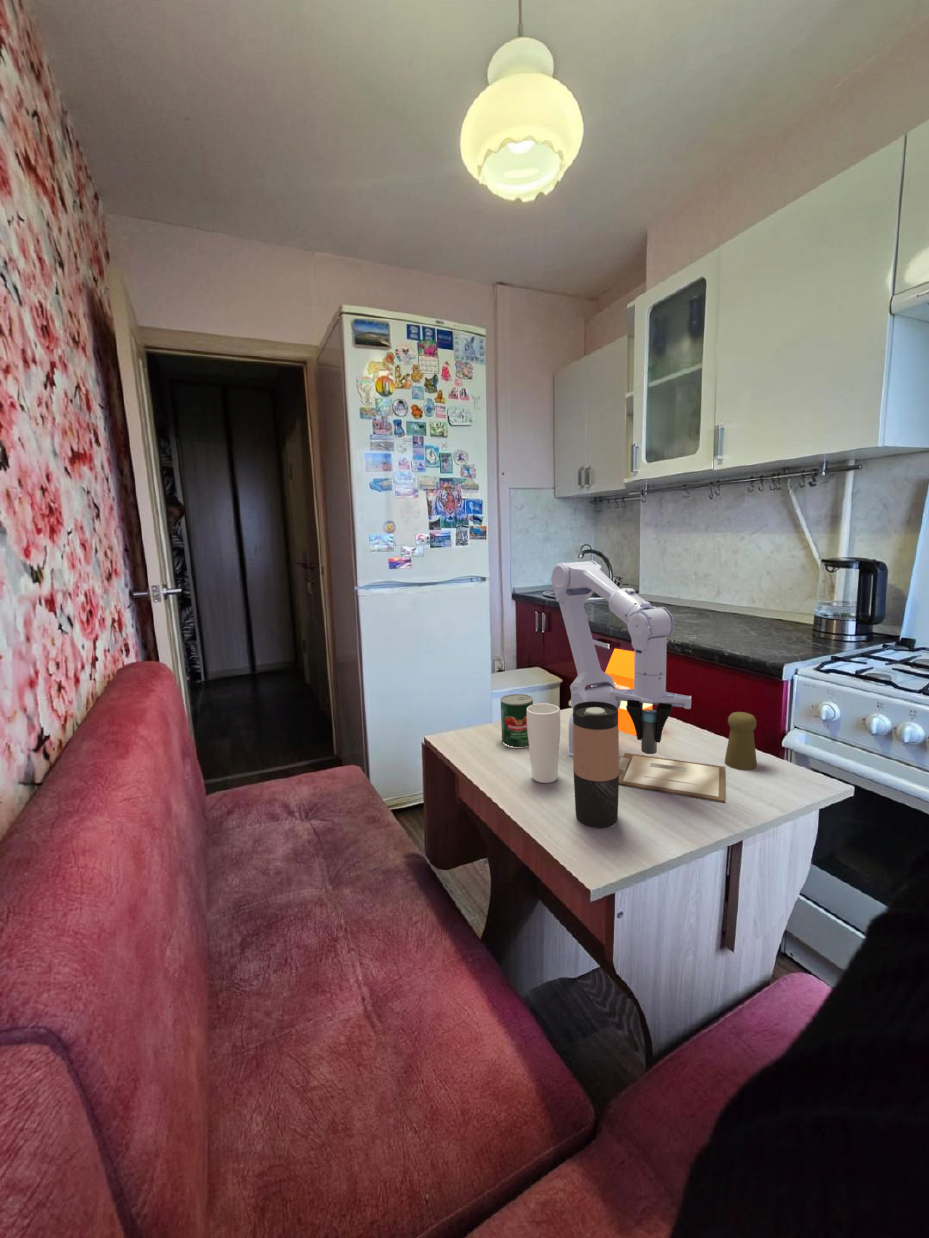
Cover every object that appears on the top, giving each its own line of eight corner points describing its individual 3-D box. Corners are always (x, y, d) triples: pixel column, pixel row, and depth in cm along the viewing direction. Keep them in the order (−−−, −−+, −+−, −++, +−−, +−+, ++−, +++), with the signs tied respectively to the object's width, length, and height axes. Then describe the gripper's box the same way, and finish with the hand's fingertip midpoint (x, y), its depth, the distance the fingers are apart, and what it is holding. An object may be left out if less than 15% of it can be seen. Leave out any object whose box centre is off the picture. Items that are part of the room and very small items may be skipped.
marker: (639, 752, 98) (640, 713, 97) (642, 747, 101) (642, 708, 100) (656, 755, 97) (656, 715, 96) (658, 749, 100) (658, 710, 98)
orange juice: (623, 719, 136) (623, 646, 133) (652, 727, 129) (653, 650, 126) (604, 726, 132) (604, 650, 129) (633, 735, 125) (634, 656, 122)
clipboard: (611, 783, 101) (611, 777, 101) (624, 754, 114) (624, 749, 114) (724, 802, 92) (724, 796, 92) (724, 768, 105) (724, 762, 105)
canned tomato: (513, 751, 119) (511, 706, 117) (495, 740, 126) (494, 697, 124) (540, 743, 123) (539, 699, 121) (522, 733, 129) (521, 692, 128)
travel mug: (617, 807, 92) (617, 701, 89) (620, 831, 85) (620, 716, 82) (574, 804, 94) (572, 700, 91) (573, 827, 86) (571, 714, 83)
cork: (761, 770, 103) (763, 719, 102) (729, 769, 104) (731, 718, 103) (751, 758, 109) (753, 709, 107) (720, 757, 110) (722, 708, 109)
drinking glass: (549, 789, 100) (547, 716, 98) (521, 779, 105) (519, 709, 102) (567, 776, 105) (566, 706, 103) (540, 768, 109) (538, 701, 107)
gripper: (606, 673, 96) (606, 741, 99) (690, 680, 90) (688, 752, 92) (614, 664, 103) (614, 728, 105) (692, 670, 96) (690, 738, 98)
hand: (649, 739), depth 99 cm, fingers closed on marker, 3 cm apart
